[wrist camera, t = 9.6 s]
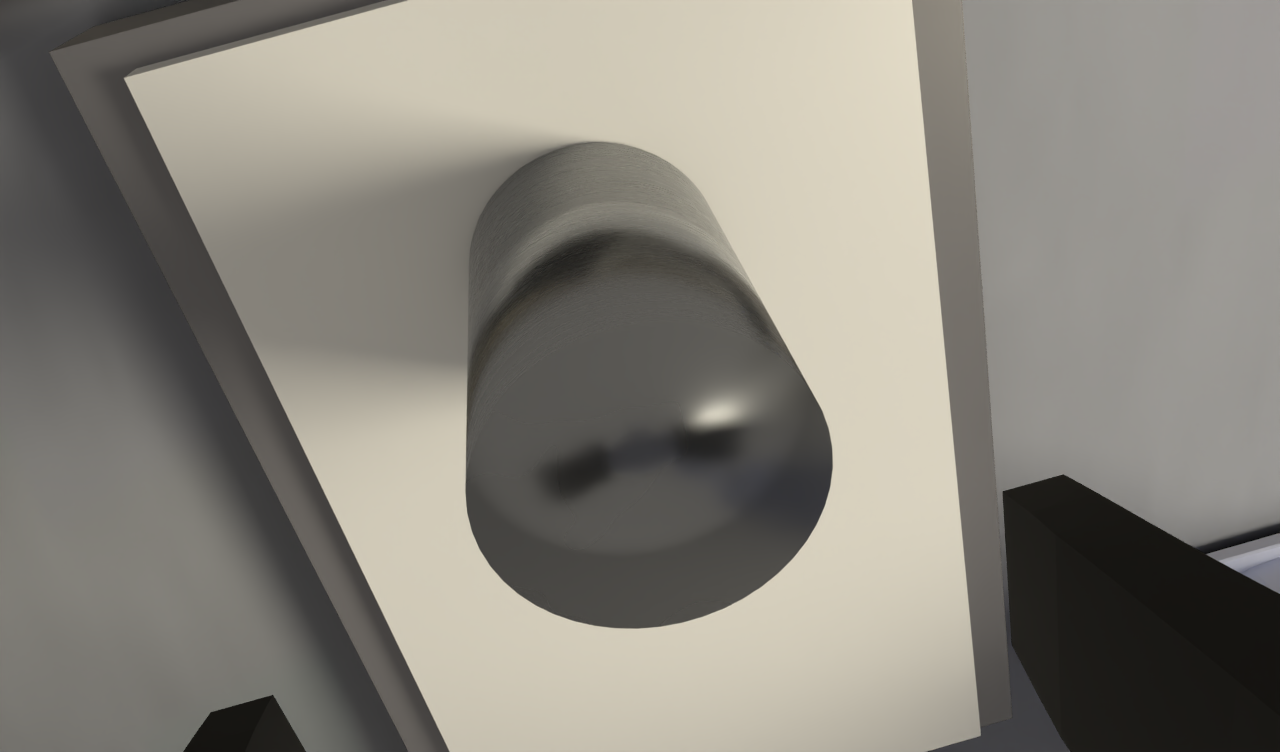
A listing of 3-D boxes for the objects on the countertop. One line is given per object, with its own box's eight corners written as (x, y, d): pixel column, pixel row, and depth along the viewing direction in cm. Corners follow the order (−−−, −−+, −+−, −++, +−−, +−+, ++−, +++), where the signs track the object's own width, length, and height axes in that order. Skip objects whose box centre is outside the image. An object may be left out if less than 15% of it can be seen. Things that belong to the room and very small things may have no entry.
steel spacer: (701, 116, 15) (815, 285, 10) (736, 346, 17) (846, 584, 12) (437, 175, 15) (417, 374, 10) (504, 399, 17) (516, 662, 12)
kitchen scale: (893, -225, 16) (963, -231, 14) (975, 656, 26) (1024, 738, 23) (79, -4, 16) (15, 27, 14) (471, 801, 25) (471, 897, 23)
